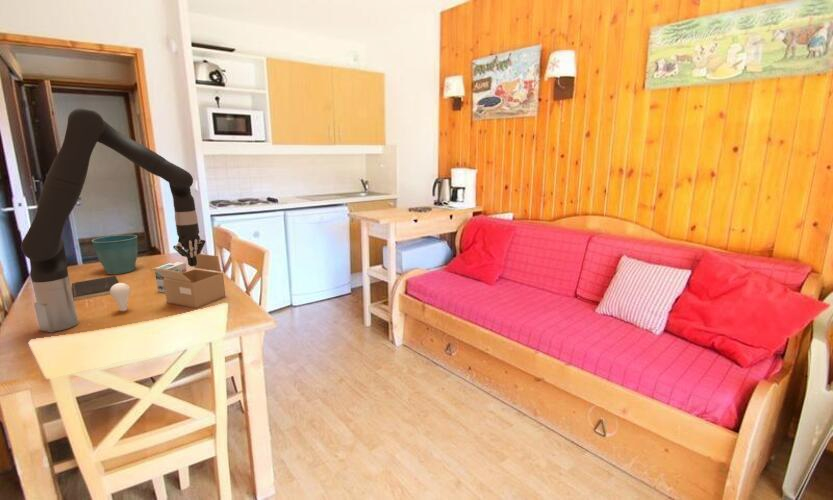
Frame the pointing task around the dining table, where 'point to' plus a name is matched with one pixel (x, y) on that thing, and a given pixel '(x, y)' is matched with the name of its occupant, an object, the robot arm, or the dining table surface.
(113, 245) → the flower pot
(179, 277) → the near flap
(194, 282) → the carton
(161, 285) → the light bulb box
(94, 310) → the dining table surface
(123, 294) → the lightbulb
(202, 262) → the far flap
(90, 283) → the hardcover book
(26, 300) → the dining table surface
